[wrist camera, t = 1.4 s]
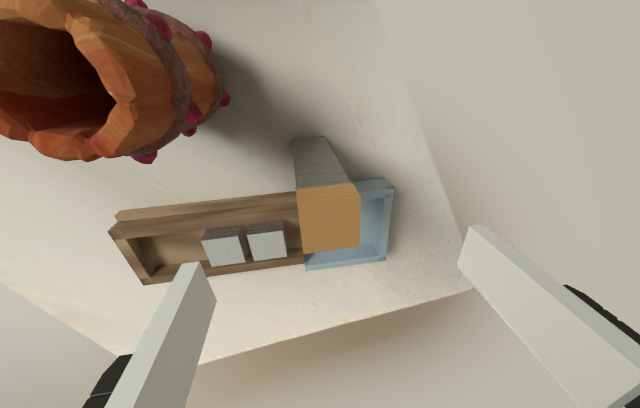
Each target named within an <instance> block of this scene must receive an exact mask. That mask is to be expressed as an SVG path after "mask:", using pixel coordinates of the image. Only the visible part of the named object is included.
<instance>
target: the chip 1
mask: <svg viewBox="0 0 640 408" xmlns="http://www.w3.org/2000/svg"><path fill="white" fill-rule="evenodd" d="M201 243H202V245H203V247H204V250H205V252H206V255H207V257H208V259H209V262H210V264H211V267H214V266H222V265H229V264H236V263H244V262H246V258H247V253H248V245H247V241H246V238H245V234H244V231H243V227H242V225H236V226H227V227H219V228H211V229H206V231H205V233H204V235H203V237H202V239H201Z"/></svg>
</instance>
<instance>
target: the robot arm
mask: <svg viewBox="0 0 640 408" xmlns="http://www.w3.org/2000/svg"><path fill="white" fill-rule="evenodd" d="M456 266H457V267H458V268H459V270H460V271H461V272H462V273H463V274H464V275H465V276H466V278H467V279H468V280H469V281H470V282H471V283H472V284H473V286H474V287H475V288H476V289H477V290H478V291H479V292H480V293H481V295H482V296H483V297H484V298H485V299H486V300H487V302H488V303H489V304H490V305H491V306H492V307H493V308H494V310H495V311H496V312H497V313H498V314H499V315H500V316H501V317H502V319H503V320H504V321H505V322H506V323H507V324H508V326H509V327H510V328H511V329H512V330H513V331H514V332H515V334H516V335H517V336H518V337H519V338H520V339H521V340H522V341H523V343H524V344H525V345H526V346H527V347H528V348H529V350H530V351H531V352H532V353H533V354H534V355H535V356H536V358H537V359H538V360H539V361H540V362H541V363H542V364H543V366H544V367H545V368H546V369H547V370H548V371H549V372H550V374H551V375H552V376H553V377H554V378H555V379H556V380H557V382H558V383H559V384H560V385H561V386H562V387H563V388H564V390H565V391H566V392H567V393H568V394H569V395H570V396H571V398H572V399H573V400H574V401H575V402H576V403H577V405H578V406H579V407H580V408H622V407H626V408H640V335H639V334H638V333H637V332H635V331H634V330H633V329H631V328H630V327H629V326H627V325H626V324H625V323H623V322H622V321H618V320H617V317H615V316H614V315H612V314H611V313H610V312H608V311H607V310H604V309H603V307H602V306H600V305H599V304H598V303H596V302H595V301H593V300H592V299H591V298H590V297H588V296H587V295H586V294H584V293H582V292H580V291H578V290H576V289H574V288H572V287H570V286H568V285H562V284H560V283H559V282H558V281H556V280H555V279H554V278H553V277H551V276H550V275H549V274H547V273H546V272H545V271H543V270H542V269H541V268H540V267H538V266H537V265H536V264H535V263H533V262H532V261H531V260H529V259H528V258H527V257H526V256H524V255H523V254H521V253H520V252H519V251H518V250H516V249H515V248H514V247H513V246H511V245H510V244H508V243H507V242H506V241H505V240H503V239H502V238H501V237H500V236H498V235H497V234H496V233H494V232H493V231H492V230H491V229H489V228H488V227H487V226H485V225H484V224H482V225H474V226H469V229H468V232H467V235H466V238H465V241H464V244H463V247H462V250H461V253H460V256H459V259H458V262H457V265H456ZM216 301H217V300H216V298H215V296H214V293H213V291H212V289H211V287H210V284H209V282H208V280H207V277H206V275H205V273H204V271H203V268H202V266H201V264H200V262H199V261H198V262H191V263H183V264H181V266H180V268H179V270H178V272H177V274H176V276H175V277H174V279H173V281H172V283H171V285H170V287H169V289H168V290H167V292H166V294H165V296H164V298H163V300H162V302H161V303H160V305H159V307H158V309H157V311H156V313H155V315H154V316H153V318H152V320H151V322H150V324H149V326H148V328H147V329H146V331H145V333H144V335H143V337H142V339H141V341H140V342H139V344H138V346H137V348H136V350H135V352H134V354H129V355H122V356H119V357H118V358H117V359H116V361H114V362H113V364H112V365H111V366H110V367H109V368H108V369H107V370H106V371H105V372H104V373H103V374H102V376H101V378H100V379H99V381H98V383H97V385H96V386H95V388H94V389H93V391H92V393H91V394H90V396H91V397H90V398H89V399H88V400H87V401H86V403H85V404H84V406H83V408H184V407H185V404H186V401H187V397H188V394H189V391H190V387H191V384H192V381H193V377H194V374H195V371H196V367H197V364H198V361H199V358H200V354H201V351H202V348H203V344H204V341H205V338H206V334H207V331H208V328H209V324H210V321H211V318H212V314H213V311H214V308H215V305H216Z"/></svg>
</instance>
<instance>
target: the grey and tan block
mask: <svg viewBox="0 0 640 408" xmlns="http://www.w3.org/2000/svg"><path fill="white" fill-rule="evenodd" d="M292 147H293V157H294V167H295V177H296V187H297V189H296V196H297V207H298V215H299V222H300V230H301V238H302V246H303V254H308V253H316V252H323V251H331V250H338V249H345V248H353V247H359V245H360V219H361V196H360V195H359V193H358V191H357V190H356V188H355V186H354V184H353V183H351V182H350V180H349V178H348V176H347V175H346V173H345V171H344V169H343V168H342V166H341V164H340V163H339V161H338V159H337V157H336V156H335V154H334V152H333V151H332V149H331V147H330V145H329V144H328V142H327V140H326V138H325V137H324V136H320V137H309V138H299V139H292Z"/></svg>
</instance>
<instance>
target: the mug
mask: <svg viewBox="0 0 640 408" xmlns="http://www.w3.org/2000/svg"><path fill="white" fill-rule="evenodd" d="M211 47H212V41H211V39H210V37H209V35H208V34H207V33H205V32H204V31H197V32H194V31H193V30H192V29H191V28H189V27H188V26H187V25H185V24H184V23H182V22H180V21H179V20H177V19H175V18H173V17H171V16H169V15H166V14H164V13H161V12H158V11H156V10H152V9H148V7H147V5H146V4H145V3H144V2H143V1H142V0H125V2H123V1H121V0H0V134H1V135H3V136H5V137H7V138H9V139H12V140H20V141H27V142H30V143H31V144H32V145H33V146H34V147H35V148H36V149H37V150H38V151H39V152H40V153H41V154H43V155H45V156H48V157H52V158H55V159H59V160H63V161H72V160H83V161H85V162H90V161H94V160H96V159H98V158H101V157H105V158H115V157H121V156H131V157H132V158H133V159H134V160H136V161H138V162H140V163H143V164H152V162H153V161H154V160H155V158H156V157H157V150H159V149H161V148H162V147H164V146H165V145H167V144H168V143H170V142H171V141H173V140H174V139H175V138H177V137H178V136H179V135H180V133H182V134H183V135H184V136H187V137H191V136H192V135H194V134H195V132H196V129H197V126H198V125H200V124H202V123H203V122H205V121H207V120H208V119H209V118H210V117H211V116H212V115H213V114H214V113H215V111H216V110H217V109H218V107H219V106H227V105H228V104H229V103H230V99H231V97H230V96H229V94H228V93H227V92H226V90H224V85H223V78H222V73H221V69H220V67H219V64H218V62H217V60H216V58H215V56H214V54H213V53H212V51H211Z"/></svg>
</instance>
